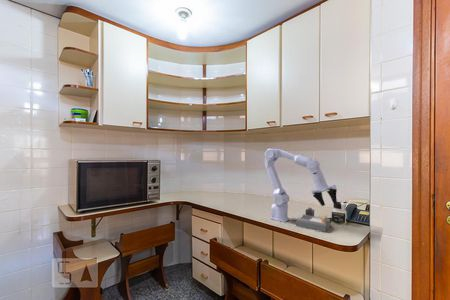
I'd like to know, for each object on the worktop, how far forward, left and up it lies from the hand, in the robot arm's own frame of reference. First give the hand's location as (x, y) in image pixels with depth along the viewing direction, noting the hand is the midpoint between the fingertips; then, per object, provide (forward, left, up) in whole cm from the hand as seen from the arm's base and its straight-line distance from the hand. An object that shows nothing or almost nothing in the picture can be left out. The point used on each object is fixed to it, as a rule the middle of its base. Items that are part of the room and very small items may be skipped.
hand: (329, 204), depth 119 cm
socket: (-8, 0, -13) cm, 16 cm away
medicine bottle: (+2, +16, -14) cm, 21 cm away
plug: (-13, +10, -13) cm, 21 cm away
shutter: (-6, 0, -10) cm, 12 cm away
